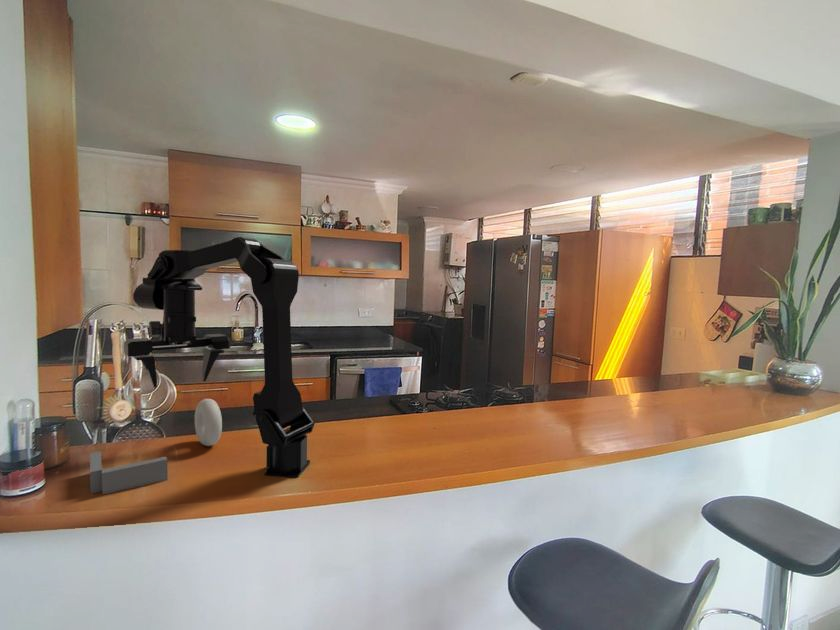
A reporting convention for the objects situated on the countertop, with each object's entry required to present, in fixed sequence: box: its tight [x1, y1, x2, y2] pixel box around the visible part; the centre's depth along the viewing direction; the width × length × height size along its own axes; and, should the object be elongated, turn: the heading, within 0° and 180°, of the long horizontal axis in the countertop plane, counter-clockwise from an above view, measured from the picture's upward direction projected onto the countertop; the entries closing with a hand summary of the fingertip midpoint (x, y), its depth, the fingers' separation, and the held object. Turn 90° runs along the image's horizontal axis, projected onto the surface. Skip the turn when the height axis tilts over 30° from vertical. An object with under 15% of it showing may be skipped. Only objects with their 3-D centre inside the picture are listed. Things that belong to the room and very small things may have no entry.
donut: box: [194, 398, 223, 447], centre depth 87 cm, size 10×4×10 cm, turn 44°
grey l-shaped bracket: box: [89, 450, 169, 495], centre depth 69 cm, size 15×7×4 cm, turn 84°
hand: (180, 384), depth 86 cm, fingers open, 9 cm apart
